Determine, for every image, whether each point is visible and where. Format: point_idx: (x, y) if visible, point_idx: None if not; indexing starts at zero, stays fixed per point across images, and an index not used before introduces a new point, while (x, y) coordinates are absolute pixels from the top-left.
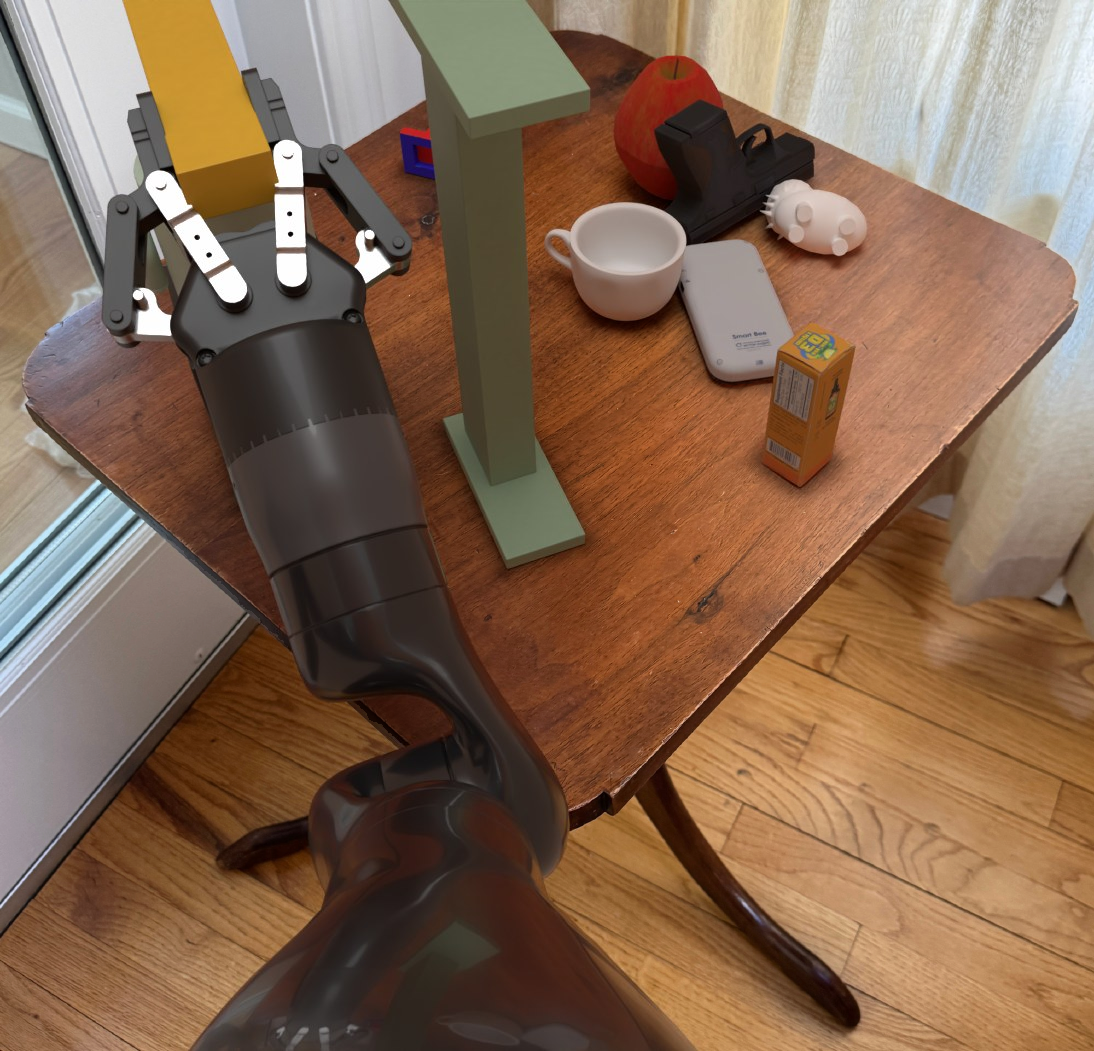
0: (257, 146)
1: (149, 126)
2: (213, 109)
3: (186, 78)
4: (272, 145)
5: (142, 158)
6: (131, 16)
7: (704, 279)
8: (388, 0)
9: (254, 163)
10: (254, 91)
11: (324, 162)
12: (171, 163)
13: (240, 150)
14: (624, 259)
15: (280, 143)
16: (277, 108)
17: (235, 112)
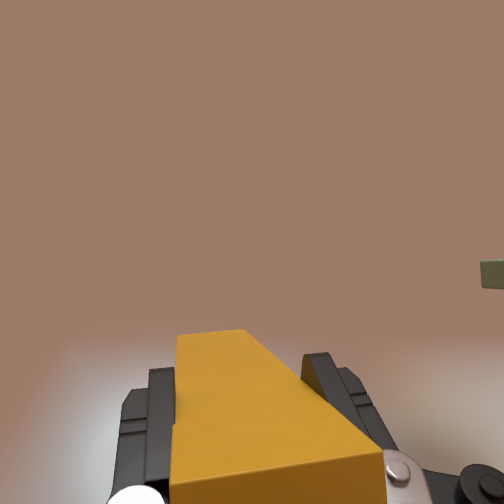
0: (351, 443)
1: (152, 409)
2: (259, 400)
3: (224, 376)
4: None
5: (121, 463)
6: (179, 348)
7: None
8: (499, 287)
9: (345, 479)
10: (326, 376)
11: (478, 500)
12: (169, 473)
13: (315, 448)
14: None
15: None
16: (360, 405)
17: (295, 403)
